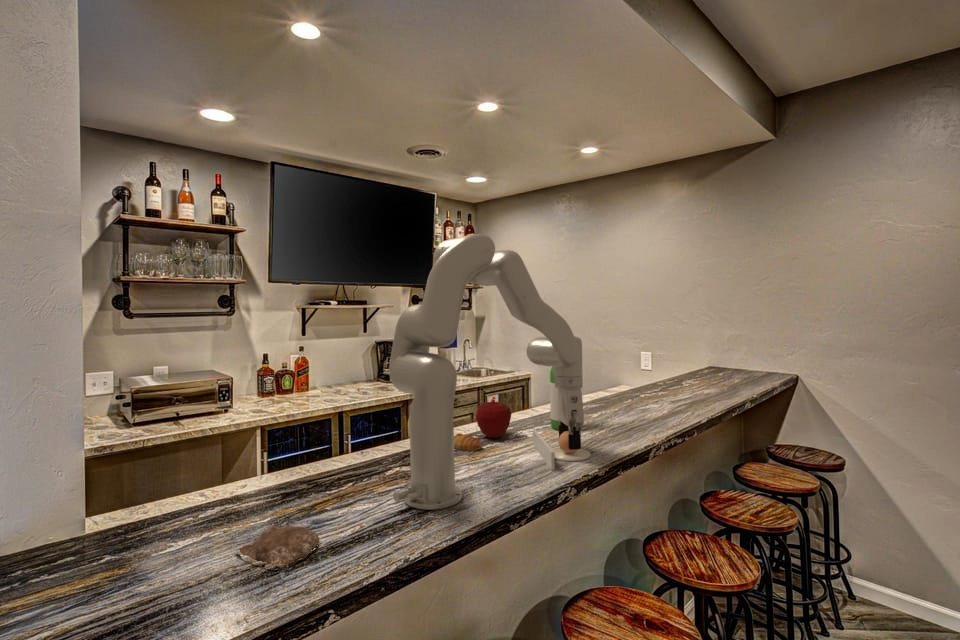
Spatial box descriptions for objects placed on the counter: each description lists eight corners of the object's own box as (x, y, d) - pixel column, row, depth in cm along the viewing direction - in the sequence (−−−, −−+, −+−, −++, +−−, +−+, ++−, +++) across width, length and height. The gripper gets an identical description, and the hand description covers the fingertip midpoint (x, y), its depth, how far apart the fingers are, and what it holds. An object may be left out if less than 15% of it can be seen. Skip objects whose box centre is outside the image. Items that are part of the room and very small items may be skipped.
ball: (573, 457, 132) (573, 435, 131) (554, 453, 136) (553, 431, 135) (584, 452, 136) (584, 430, 136) (566, 448, 140) (565, 427, 140)
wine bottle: (578, 427, 166) (576, 337, 164) (569, 432, 159) (567, 339, 158) (556, 424, 170) (554, 336, 169) (546, 429, 163) (545, 338, 162)
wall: (554, 470, 124) (554, 452, 124) (551, 470, 124) (551, 452, 124) (535, 444, 146) (535, 429, 146) (533, 445, 146) (532, 429, 146)
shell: (289, 530, 95) (288, 512, 95) (333, 547, 88) (332, 527, 88) (230, 556, 86) (230, 536, 86) (275, 577, 79) (274, 555, 79)
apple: (470, 439, 153) (469, 402, 153) (487, 431, 163) (486, 395, 162) (502, 443, 148) (501, 405, 148) (517, 435, 157) (516, 398, 157)
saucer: (576, 464, 128) (576, 462, 128) (541, 456, 136) (541, 454, 135) (597, 454, 136) (597, 451, 136) (563, 446, 144) (563, 444, 144)
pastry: (487, 448, 145) (487, 435, 145) (472, 454, 139) (472, 441, 139) (463, 443, 151) (462, 430, 150) (448, 448, 145) (447, 435, 145)
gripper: (592, 386, 127) (593, 452, 128) (572, 376, 144) (573, 434, 145) (563, 387, 126) (564, 454, 127) (547, 377, 143) (548, 436, 144)
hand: (569, 443), depth 136 cm, fingers open, 9 cm apart
